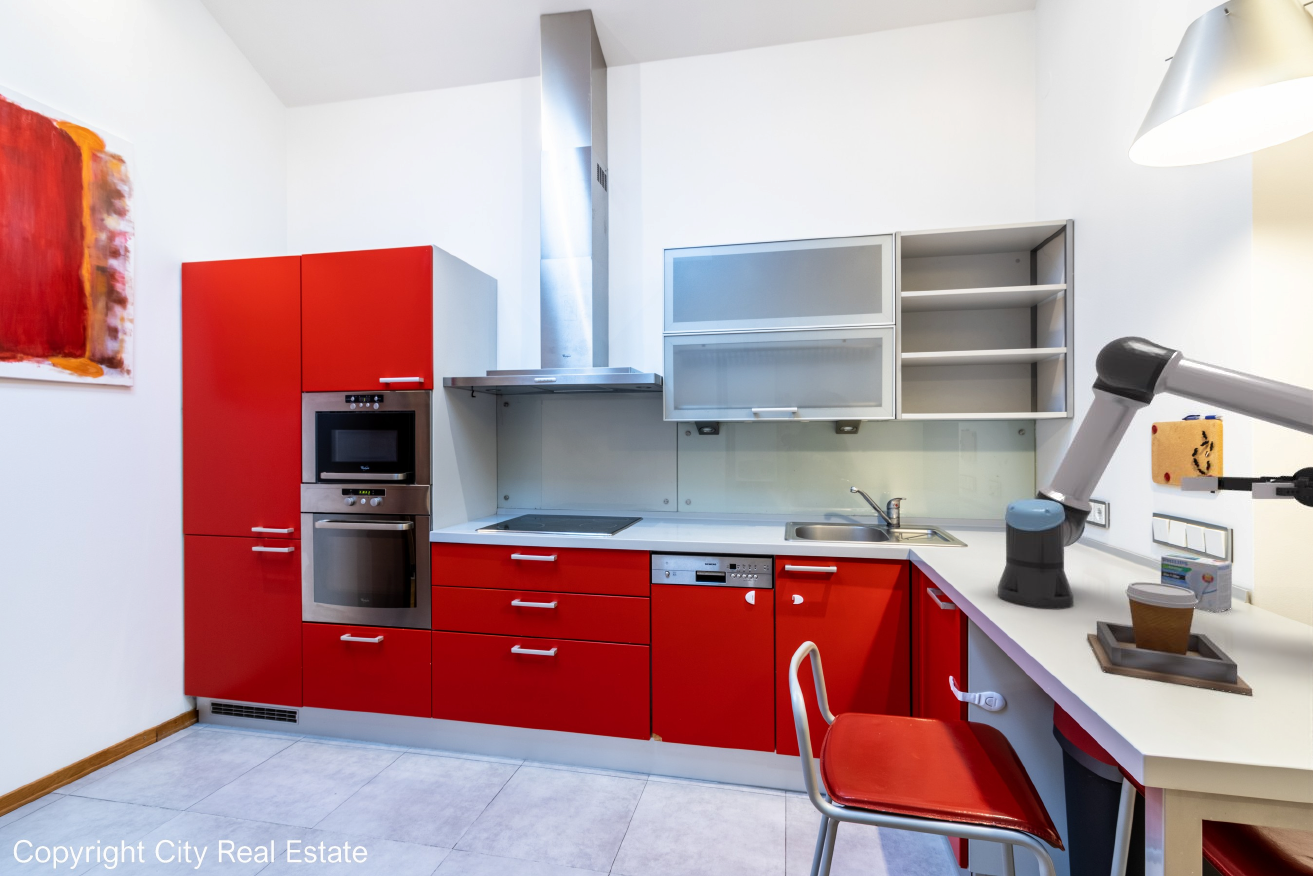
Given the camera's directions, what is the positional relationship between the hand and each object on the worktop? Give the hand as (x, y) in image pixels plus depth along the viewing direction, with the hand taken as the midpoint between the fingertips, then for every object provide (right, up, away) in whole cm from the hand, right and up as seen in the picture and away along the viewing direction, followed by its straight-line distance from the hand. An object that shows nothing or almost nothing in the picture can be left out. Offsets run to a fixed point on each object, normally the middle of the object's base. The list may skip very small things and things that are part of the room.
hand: (1216, 487), depth 107 cm
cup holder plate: (-17, -30, -7) cm, 35 cm away
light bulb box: (+21, -30, +26) cm, 45 cm away
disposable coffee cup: (-17, -29, -7) cm, 34 cm away
